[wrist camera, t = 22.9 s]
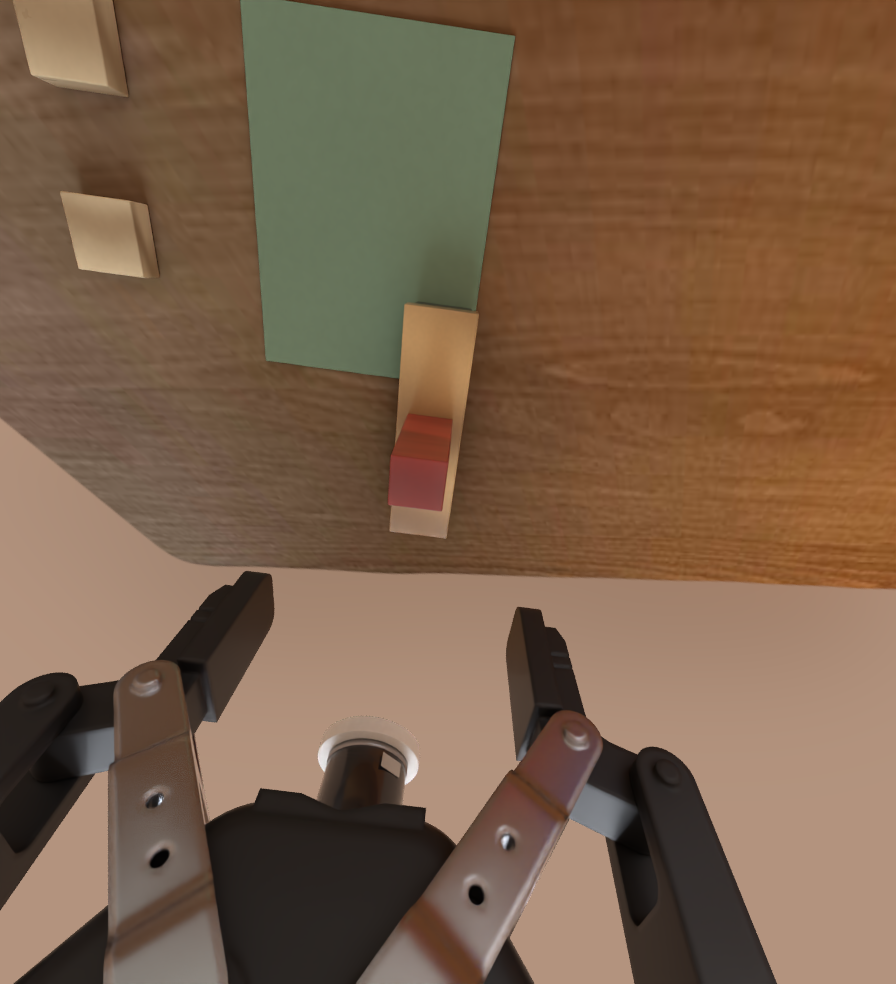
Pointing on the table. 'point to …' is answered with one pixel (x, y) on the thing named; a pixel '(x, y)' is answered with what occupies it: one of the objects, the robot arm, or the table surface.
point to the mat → (367, 174)
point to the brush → (430, 415)
